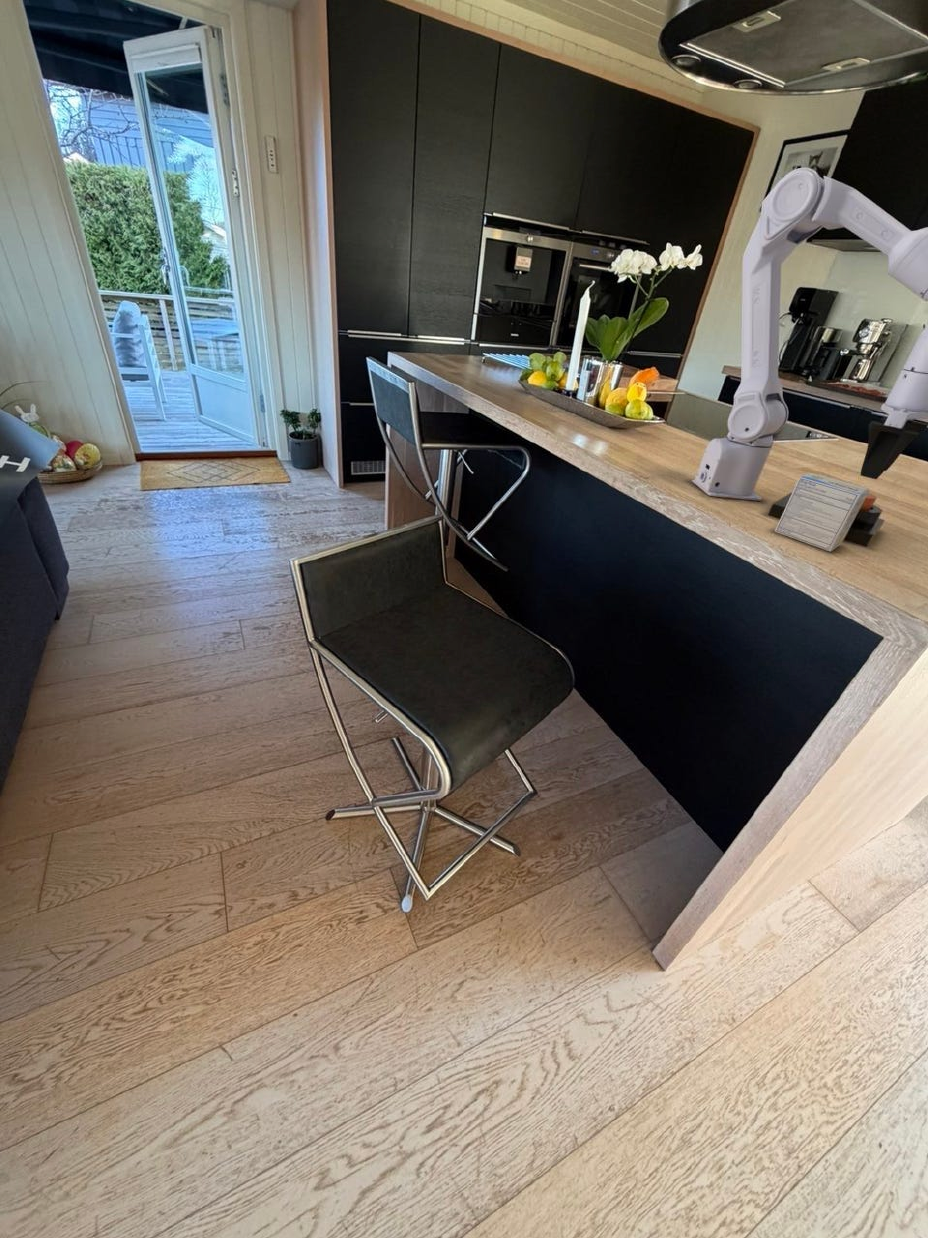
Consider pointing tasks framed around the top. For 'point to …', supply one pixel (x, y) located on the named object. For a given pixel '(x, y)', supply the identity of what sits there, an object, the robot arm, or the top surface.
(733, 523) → the top surface
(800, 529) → the medicine box
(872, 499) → the button
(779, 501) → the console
